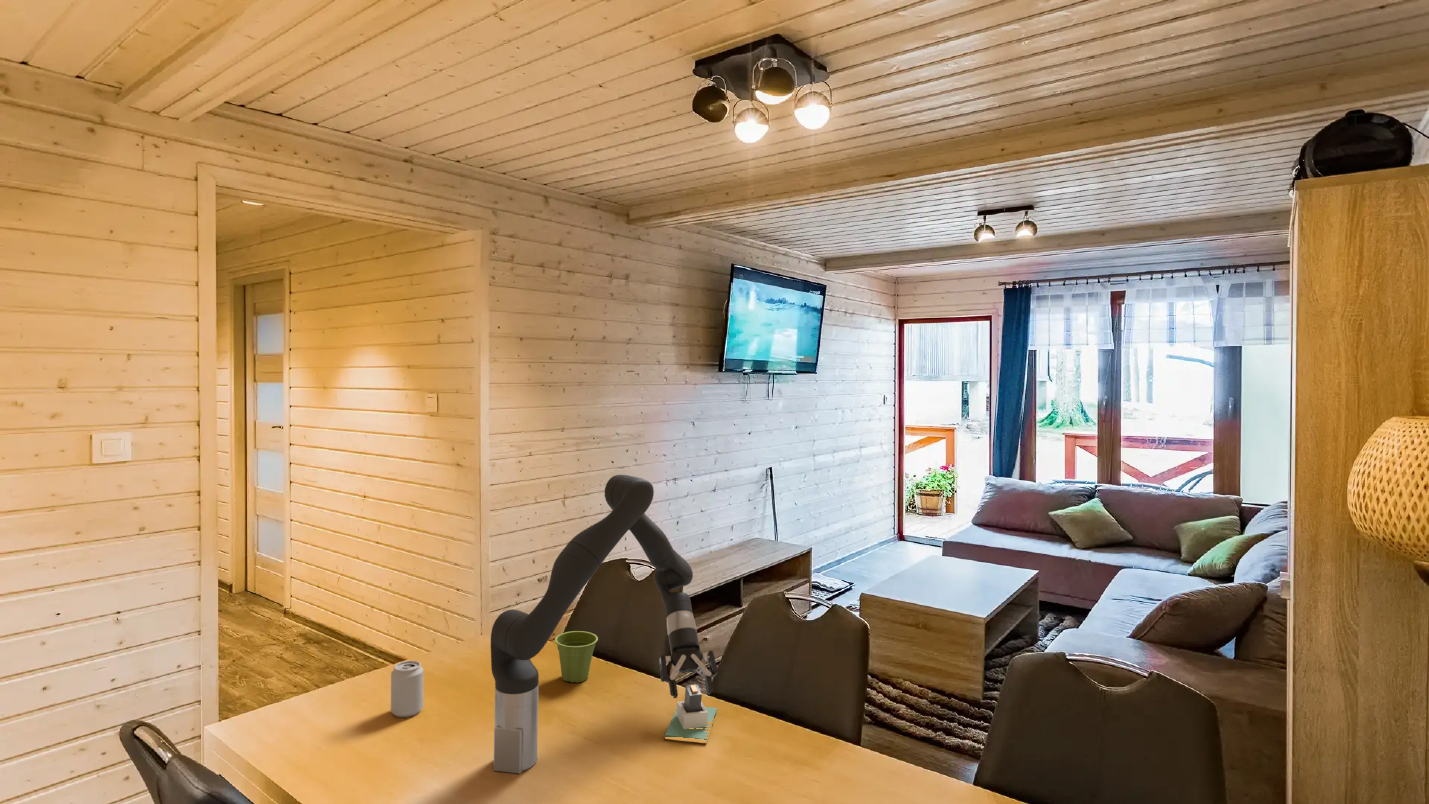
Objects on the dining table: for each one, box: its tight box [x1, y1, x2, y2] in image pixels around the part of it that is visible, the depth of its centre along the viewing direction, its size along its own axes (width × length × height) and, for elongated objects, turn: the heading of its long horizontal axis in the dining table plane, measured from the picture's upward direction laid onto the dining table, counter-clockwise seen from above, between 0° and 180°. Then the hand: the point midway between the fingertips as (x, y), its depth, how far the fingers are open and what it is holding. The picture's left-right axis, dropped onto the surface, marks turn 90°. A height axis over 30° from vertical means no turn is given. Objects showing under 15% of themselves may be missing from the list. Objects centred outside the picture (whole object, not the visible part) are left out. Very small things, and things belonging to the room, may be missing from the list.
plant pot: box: [554, 630, 599, 683], centre depth 204 cm, size 12×12×11 cm
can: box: [390, 660, 424, 718], centre depth 182 cm, size 8×8×12 cm
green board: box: [664, 706, 718, 740], centre depth 179 cm, size 16×10×1 cm, turn 171°
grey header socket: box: [676, 700, 708, 729], centre depth 179 cm, size 7×6×4 cm
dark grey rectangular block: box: [683, 683, 703, 713], centre depth 179 cm, size 4×3×8 cm
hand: (692, 695), depth 179 cm, fingers open, 8 cm apart
